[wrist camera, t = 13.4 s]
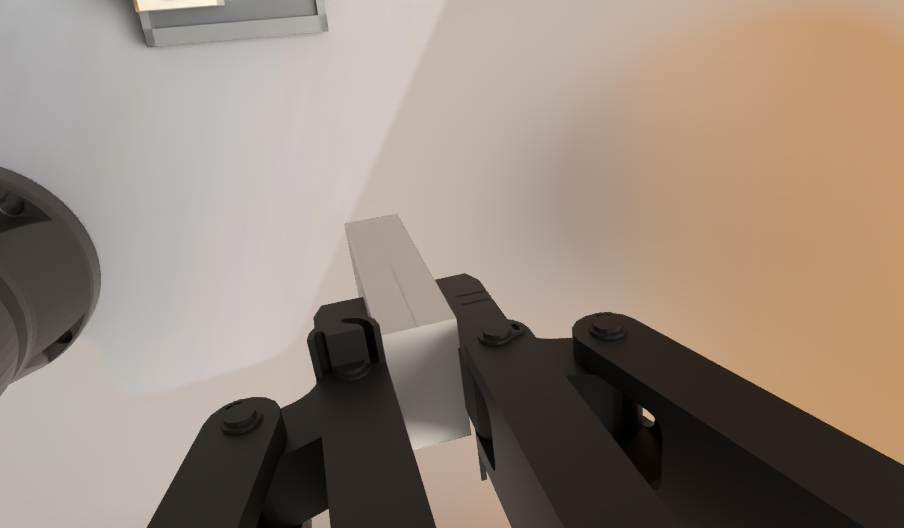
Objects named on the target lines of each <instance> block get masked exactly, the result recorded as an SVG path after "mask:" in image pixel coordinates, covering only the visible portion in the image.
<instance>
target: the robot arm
mask: <svg viewBox="0 0 904 528" xmlns="http://www.w3.org/2000/svg"><path fill="white" fill-rule="evenodd" d="M345 229H346V234H347V239H348V244H349V249H350V254H351V259H352V265H353V269H354V275H355V279H356V285H357V289H358V295H359V298H355V299H351V300H346V301H341V302H337V303H332V304H328V305H323V306H321V307H320V309H319V310H318V312H317V313H316V315H315V316H314V326H315V328H314V329H313V330H312V331H311V332H310V333H309V336H308V338H307V344H308V348H309V351H310V356H311V360H312V364H313V368H314V372H315V376H316V382H317V383H316V385H315V387H314V388H313V389H312V390H311V391H310V392H309V393H308V394H306V395H305V396H304V397H303V398H301V399H299V400H297V401H296V402H294V403H292V404H290V405H287V406H285V407H283V408H281V409H280V407H279V406H278V404H277V403H276V402H275V401H274V400H271V399H268V398H265V397H251V398H246V399H240V400H238V401H234V402H233V403H230V404H227V405H225V406H223V407H222V408H221V409H219V410H218V411H216V412H215V413H213V414H212V415H211V416H210V417H209V419H208V420H207V421H206V422H205V423H204V425H203V426H202V428H201V430H200V432H199V434H198V436H197V437H196V439H195V441H194V443H193V444H192V446H191V448H190V450H189V452H188V454H187V455H186V457H185V459H184V461H183V463H182V464H181V466H180V468H179V470H178V472H177V474H176V476H175V477H174V479H173V481H172V483H171V484H170V487H169V488H168V490H167V492H166V494H165V496H164V497H163V499H162V501H161V503H160V505H159V506H158V508H157V510H156V512H155V514H154V515H153V517H152V519H151V521H150V523H149V524H148V526H147V528H312V519H311V518H313V517H314V516H316V515H318V514H320V513H322V512H324V511H325V510H327V509H329V516H330V525H331V528H436V526H435V522H434V519H433V515H432V512H431V509H430V505H429V502H428V499H427V495H426V492H425V489H424V485H423V482H422V479H421V476H420V472H419V469H418V466H417V462H416V459H415V456H414V453H413V450H416V449H420V448H424V447H427V446H431V445H435V444H439V443H443V442H446V441H450V440H454V439H457V438H461V437H465V436H469V435H471V429H470V421H469V417H470V419H471V421H472V423H473V425H474V427H475V431H476V439H477V447H478V456H479V463H480V472H481V479H482V481H483V480H486V479H487V474H486V471H487V473H488V475H489V477H490V479H491V482H492V484H493V486H494V488H495V491H496V493H497V495H498V498H499V500H500V502H501V504H502V507H503V509H504V511H505V513H506V516H507V518H508V520H509V522H510V525H511V527H512V528H904V465H902V464H901V463H899V462H897V461H895V460H893V459H891V458H890V457H887V456H886V455H884V454H882V453H880V452H878V451H877V450H875V449H873V448H871V447H869V446H867V445H866V444H864V443H862V442H860V441H858V440H856V439H854V438H853V437H851V436H849V435H847V434H845V433H843V432H842V431H840V430H838V429H836V428H834V427H832V426H831V425H829V424H827V423H825V422H823V421H821V420H820V419H818V418H816V417H814V416H812V415H810V414H809V413H807V412H805V411H803V410H801V409H799V408H797V407H796V406H794V405H792V404H790V403H788V402H786V401H784V400H783V399H781V398H779V397H777V396H775V395H774V394H772V393H770V392H768V391H766V390H764V389H762V388H761V387H759V386H757V385H755V384H753V383H751V382H750V381H748V380H746V379H744V378H742V377H740V376H739V375H737V374H735V373H733V372H731V371H729V370H727V369H725V368H723V367H722V366H720V365H718V364H716V363H714V362H713V361H711V360H709V359H707V358H705V357H703V356H701V355H700V354H698V353H696V352H694V351H692V350H691V349H689V348H687V347H685V346H683V345H681V344H680V343H678V342H676V341H674V340H672V339H670V338H669V337H667V336H665V335H663V334H661V333H659V332H657V331H656V330H654V329H652V328H650V327H648V326H646V325H644V324H643V323H641V322H639V321H637V320H635V319H633V318H631V317H628V316H625V315H623V314H615V313H611V312H604V313H596V314H592V315H588V316H585V317H583V318H582V319H580V320H578V321H576V323H575V324H574V326H573V327H572V337H573V338H559V339H541V338H536V337H535V335H534V334H533V333H532V332H531V330H530V329H529V328H528V327H527V326H525V325H524V324H522V323H521V322H517V321H514V320H508V319H507V318H506V317H505V316H504V314H503V313H502V311H501V310H500V308H499V307H498V306H497V304H496V303H495V302H494V300H493V299H492V298H491V296H490V295H489V293H488V292H487V291H486V289H485V288H484V286H483V285H482V284H481V282H480V281H479V280H478V279H475V278H473V277H471V276H469V275H467V274H460V275H455V276H451V277H446V278H441V279H437V280H434V278H433V276H432V274H431V273H430V271H429V269H428V267H427V266H426V264H425V262H424V260H423V259H422V257H421V255H420V253H419V251H418V250H417V248H416V246H415V244H414V243H413V241H412V239H411V237H410V235H409V234H408V232H407V230H406V228H405V226H404V225H403V223H402V221H401V219H400V218H399V216H398V214H393V215H388V216H382V217H377V218H372V219H367V220H362V221H356V222H351V223H346V224H345ZM100 285H101V273H100V265H99V260H98V256H97V253H96V250H95V247H94V245H93V242H92V240H91V238H90V236H89V234H88V233H87V231H86V229H85V228H84V226H83V225H82V223H81V222H80V221H79V219H78V218H77V217H76V216H75V214H74V213H73V212H72V211H71V210H70V209H69V208H68V207H67V206H66V205H65V204H64V203H63V202H62V201H61V200H59V199H58V198H57V197H56V196H55V195H53V194H52V193H51V192H49V191H48V190H46V189H45V188H43V187H42V186H40V185H39V184H37V183H35V182H34V181H32V180H30V179H28V178H26V177H24V176H22V175H20V174H17V173H15V172H13V171H10V170H7V169H4V168H2V167H0V396H1V395H2V393H3V392H4V390H5V389H6V388H7V386H8V385H9V384H11V383H13V382H14V381H16V380H18V379H20V378H22V377H24V376H26V375H28V374H30V373H32V372H34V371H36V370H38V369H40V368H42V367H44V366H45V365H47V364H49V363H50V362H52V361H53V360H55V359H56V358H58V357H59V356H60V355H61V354H62V353H64V352H65V351H66V350H67V349H68V348H69V347H70V346H71V345H72V344H73V343H74V341H75V340H76V339H77V338H78V336H79V335H80V334H81V332H82V330H83V329H84V327H85V326H86V324H87V322H88V321H89V319H90V318H91V316H92V314H93V312H94V310H95V307H96V304H97V301H98V298H99V293H100ZM642 408H645V409H646V410H647V411H648V412H650V413H651V414H652V415H653V416H654V418H655V421H654V422H652V421H650V420H649V419H647V418H646V417H645V416H643V409H642Z"/></svg>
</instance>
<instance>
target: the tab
mask: <svg viewBox="0 0 904 528" xmlns="http://www.w3.org/2000/svg"><path fill="white" fill-rule="evenodd" d="M137 3H138V7H139V11H159V10H172V9H185V8H198V7H210V6H223V5H225V2H224V0H137Z"/></svg>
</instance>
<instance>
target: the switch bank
mask: <svg viewBox="0 0 904 528" xmlns="http://www.w3.org/2000/svg"><path fill="white" fill-rule="evenodd" d="M133 2H134V6H135V10H136V12H139V16H140V20H141V24H142V28H143V31H144V35H145V39H146V43H147V47H156V46H167V45H178V44H190V43H201V42H212V41H223V40H235V39H246V38H257V37H269V36H280V35H291V34H302V33H314V32H325V31H328V24H327V17H326V10H325V3H324V0H224V2H225V5H223V6H210V7H198V8H185V9H172V10H159V11H139V7H138V3H137V0H133Z"/></svg>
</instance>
